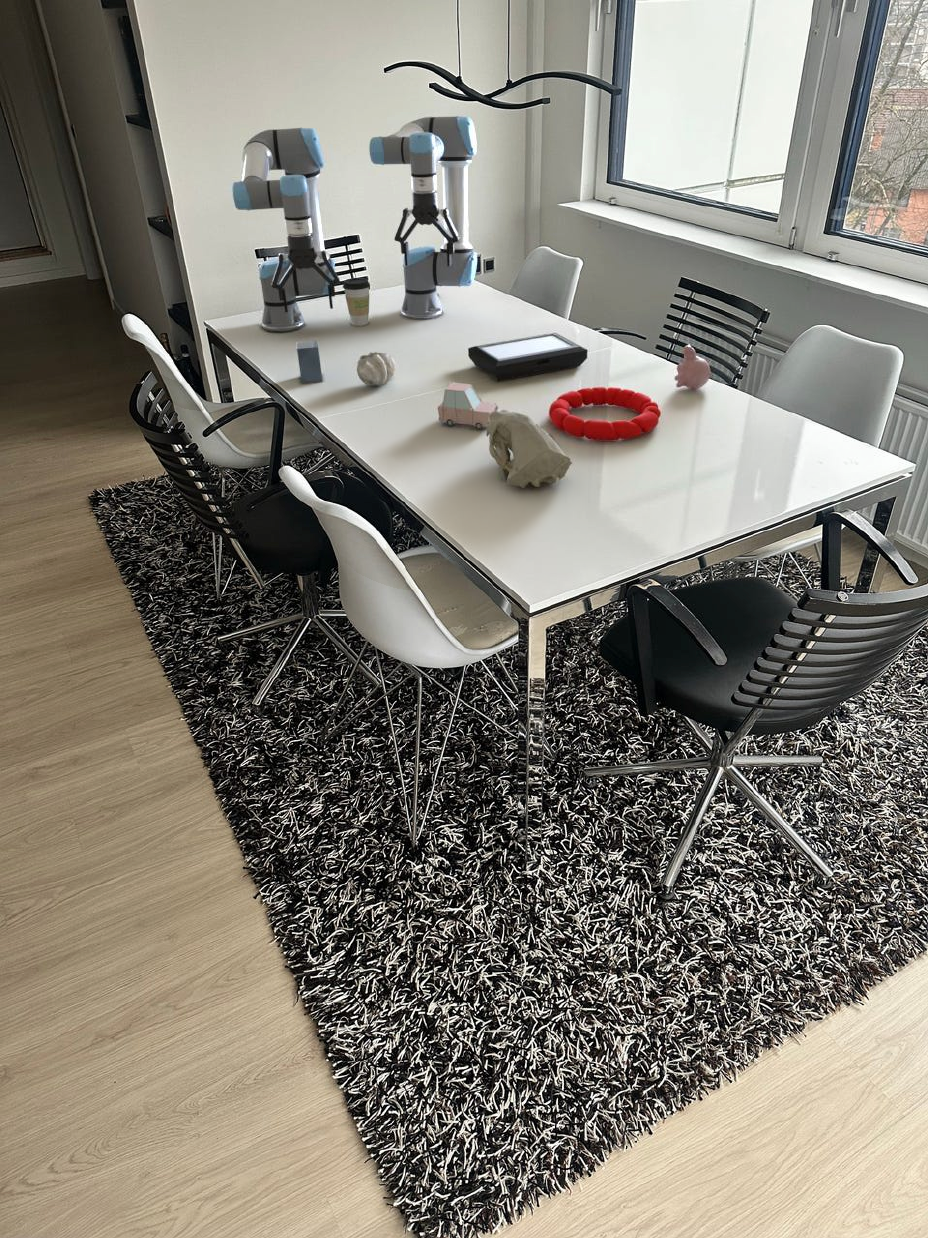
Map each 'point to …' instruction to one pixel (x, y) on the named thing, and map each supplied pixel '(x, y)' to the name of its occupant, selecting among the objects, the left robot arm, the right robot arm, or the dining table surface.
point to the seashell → (375, 368)
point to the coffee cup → (357, 300)
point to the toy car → (465, 406)
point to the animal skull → (525, 450)
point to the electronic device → (527, 356)
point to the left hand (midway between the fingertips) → (309, 309)
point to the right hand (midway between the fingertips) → (428, 264)
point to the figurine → (692, 370)
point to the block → (309, 361)
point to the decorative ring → (604, 428)
